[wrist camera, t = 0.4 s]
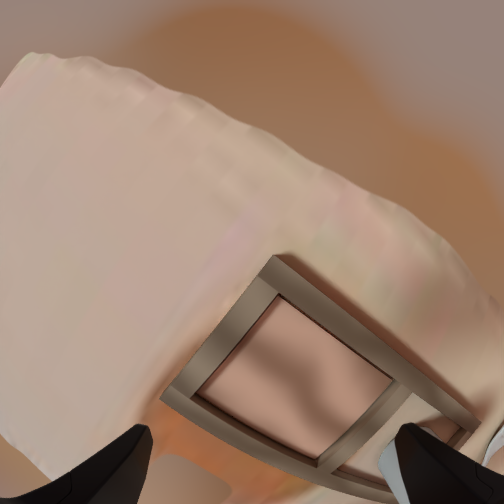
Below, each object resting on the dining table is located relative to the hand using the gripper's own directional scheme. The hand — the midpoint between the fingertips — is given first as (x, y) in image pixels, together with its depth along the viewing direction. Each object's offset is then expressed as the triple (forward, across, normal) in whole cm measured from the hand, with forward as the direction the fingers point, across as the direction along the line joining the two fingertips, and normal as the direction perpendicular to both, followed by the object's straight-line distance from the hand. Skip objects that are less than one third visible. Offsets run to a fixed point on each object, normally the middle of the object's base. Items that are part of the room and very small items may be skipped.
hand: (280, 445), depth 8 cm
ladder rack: (+12, -10, +14) cm, 21 cm away
